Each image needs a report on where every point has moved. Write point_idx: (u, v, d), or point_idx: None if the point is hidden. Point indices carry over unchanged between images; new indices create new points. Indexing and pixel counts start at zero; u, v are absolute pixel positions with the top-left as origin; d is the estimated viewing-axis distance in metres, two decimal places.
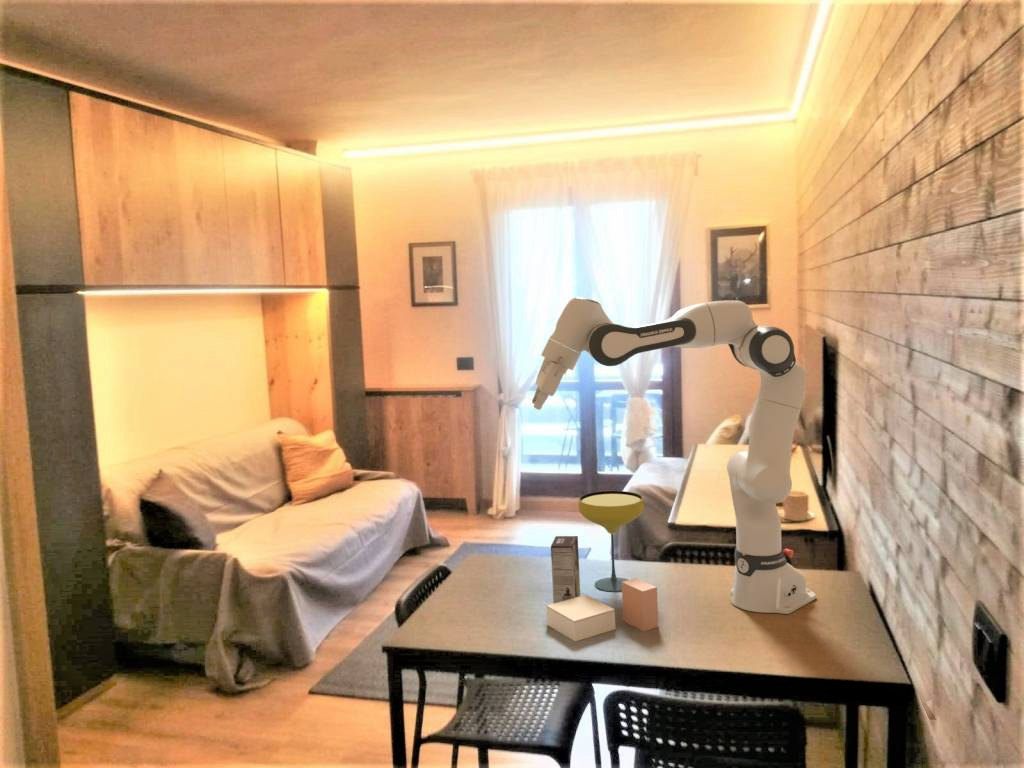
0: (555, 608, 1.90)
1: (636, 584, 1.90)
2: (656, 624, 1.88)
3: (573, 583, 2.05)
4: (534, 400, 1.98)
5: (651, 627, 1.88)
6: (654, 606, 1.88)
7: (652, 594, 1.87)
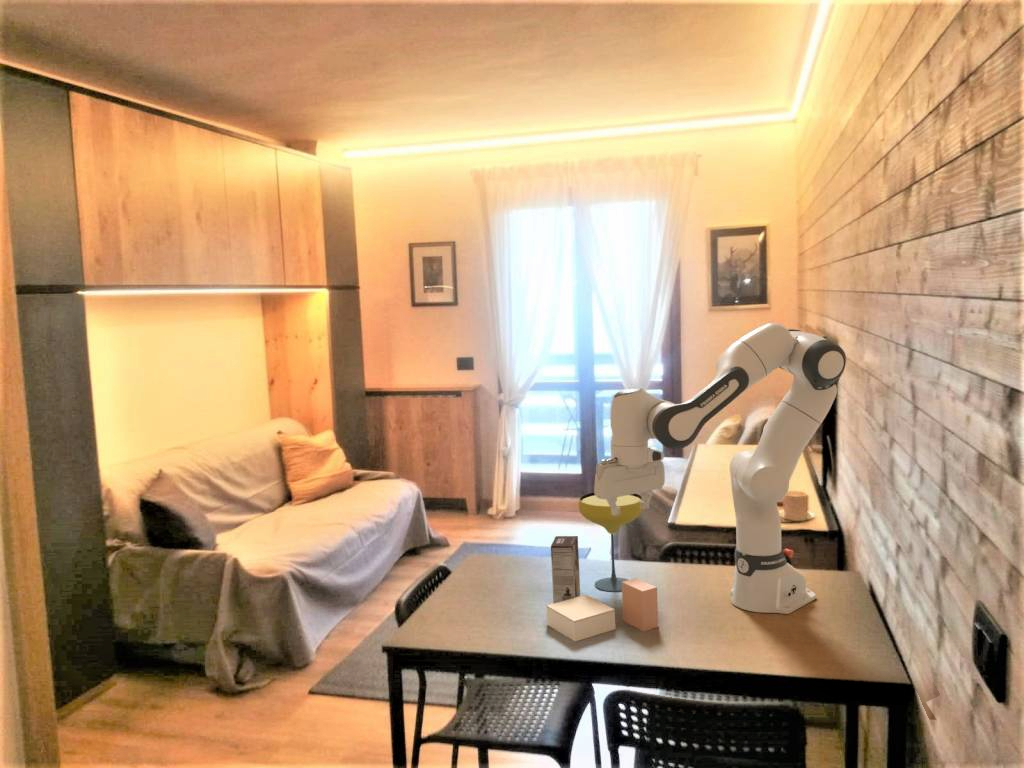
0: (555, 608, 1.90)
1: (636, 584, 1.90)
2: (656, 624, 1.88)
3: (573, 583, 2.05)
4: (641, 505, 1.91)
5: (651, 627, 1.88)
6: (654, 606, 1.88)
7: (652, 594, 1.87)
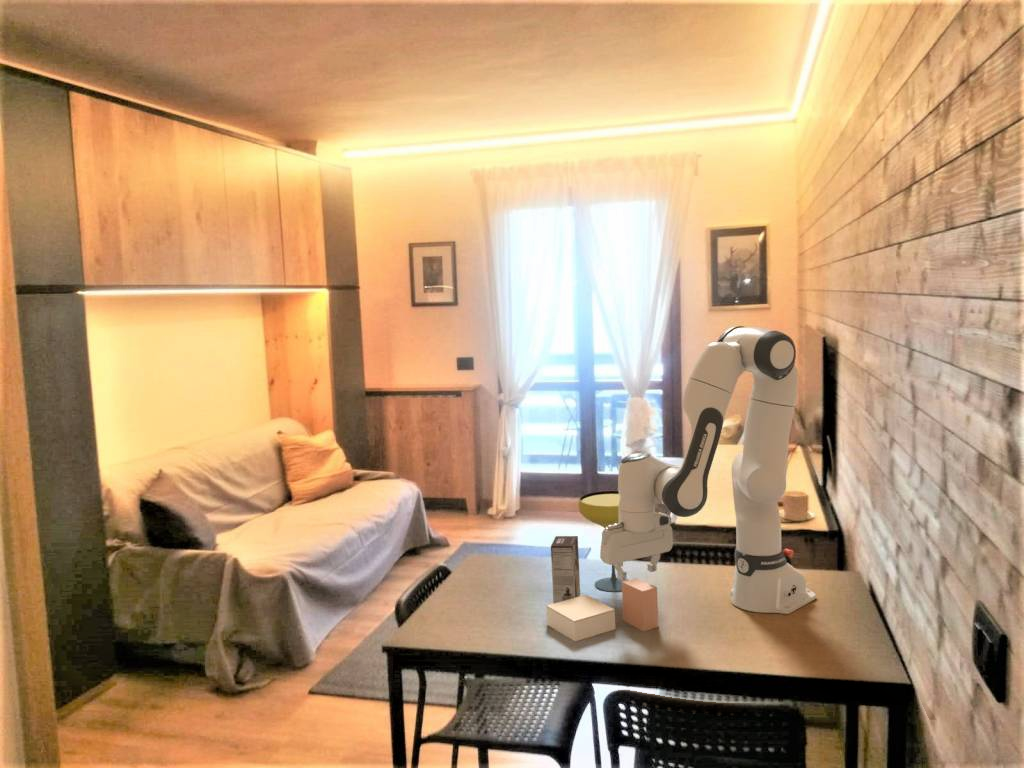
0: (555, 608, 1.90)
1: (636, 584, 1.90)
2: (656, 624, 1.88)
3: (573, 583, 2.05)
4: (648, 567, 1.92)
5: (651, 627, 1.88)
6: (654, 606, 1.88)
7: (652, 594, 1.87)
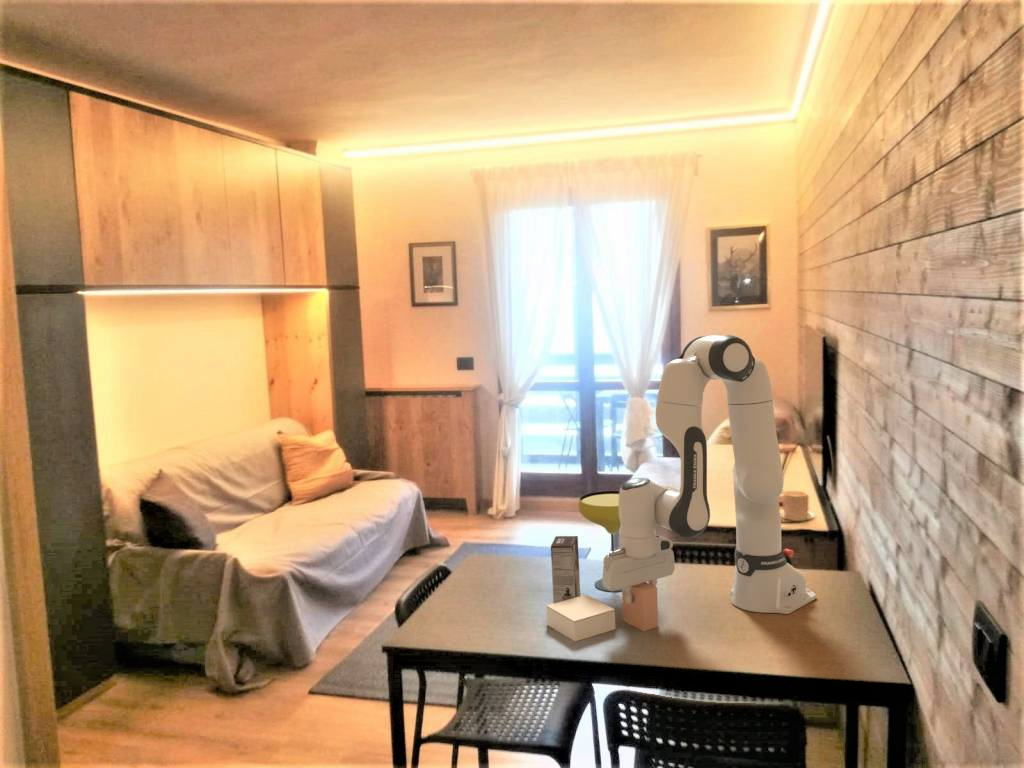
0: (555, 608, 1.90)
1: None
2: (656, 624, 1.88)
3: (573, 583, 2.05)
4: None
5: (651, 627, 1.88)
6: (654, 606, 1.88)
7: (652, 594, 1.87)
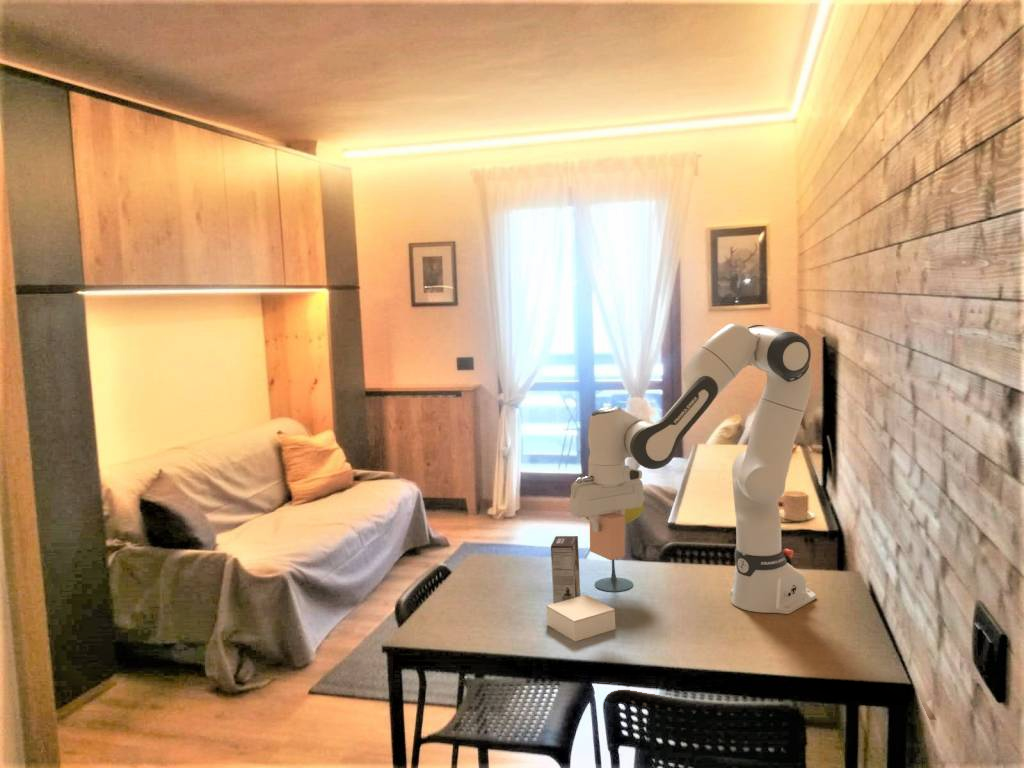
0: (555, 608, 1.90)
1: (604, 513, 1.88)
2: (623, 554, 1.86)
3: (573, 583, 2.05)
4: None
5: (617, 556, 1.85)
6: (621, 535, 1.85)
7: (619, 523, 1.85)
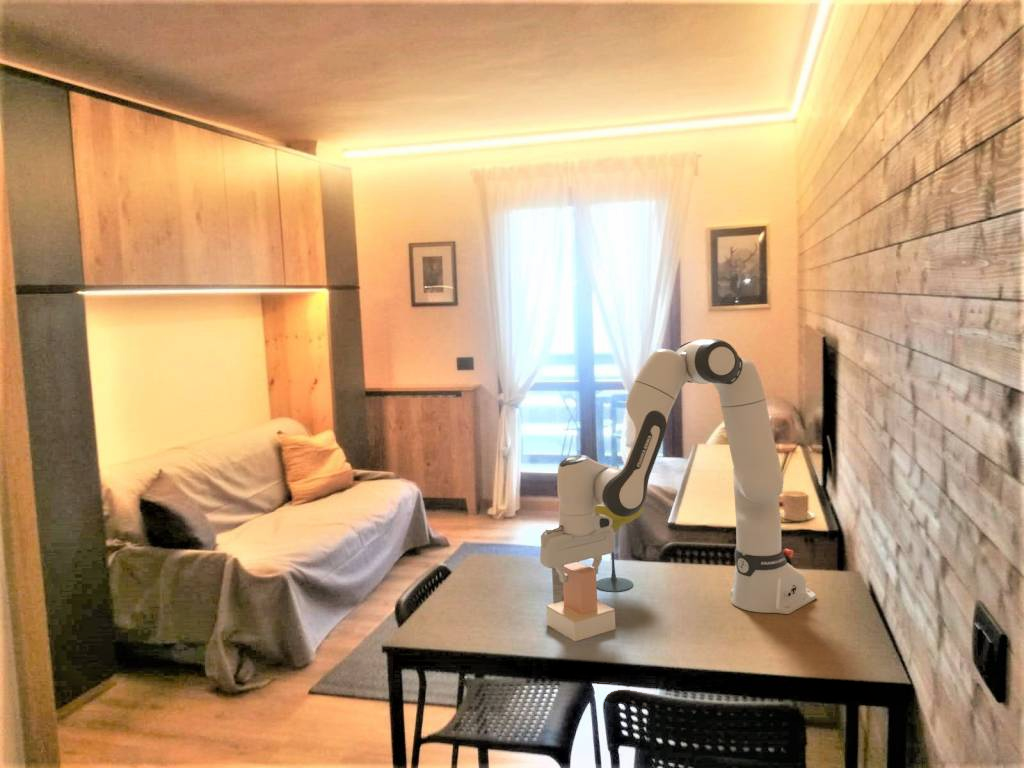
0: (555, 608, 1.90)
1: (576, 567, 1.89)
2: (595, 607, 1.87)
3: None
4: None
5: (590, 610, 1.87)
6: (593, 589, 1.87)
7: (590, 577, 1.86)
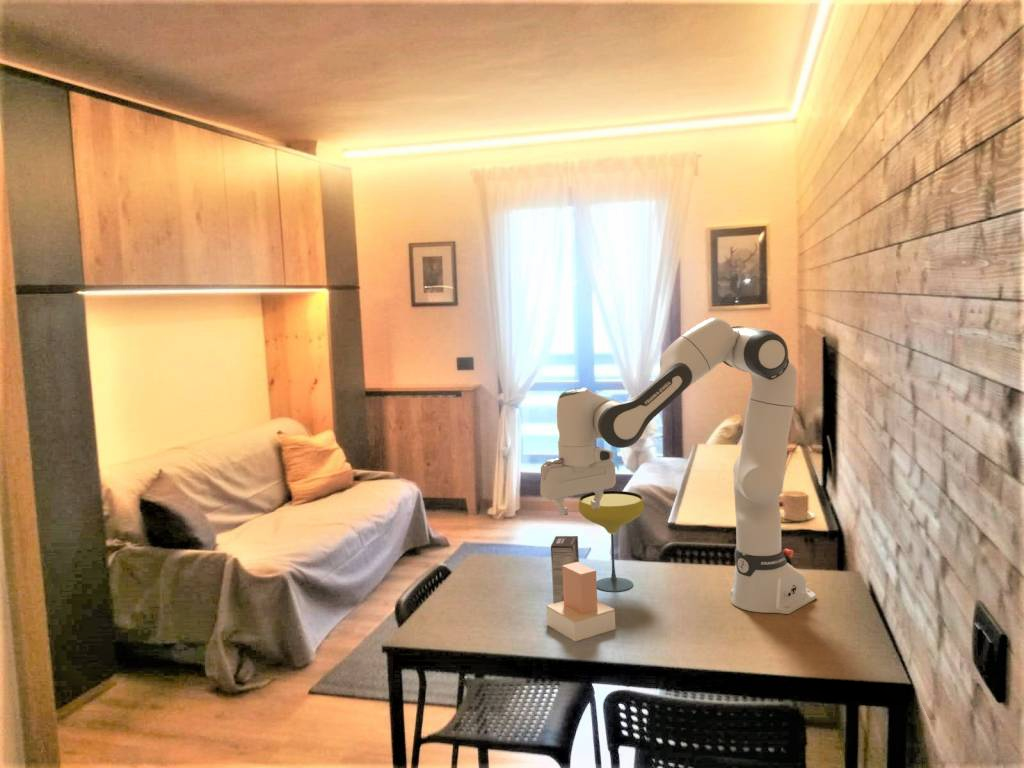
0: (555, 608, 1.90)
1: (576, 567, 1.89)
2: (595, 607, 1.87)
3: None
4: (592, 504, 1.90)
5: (590, 610, 1.87)
6: (593, 589, 1.87)
7: (590, 577, 1.86)
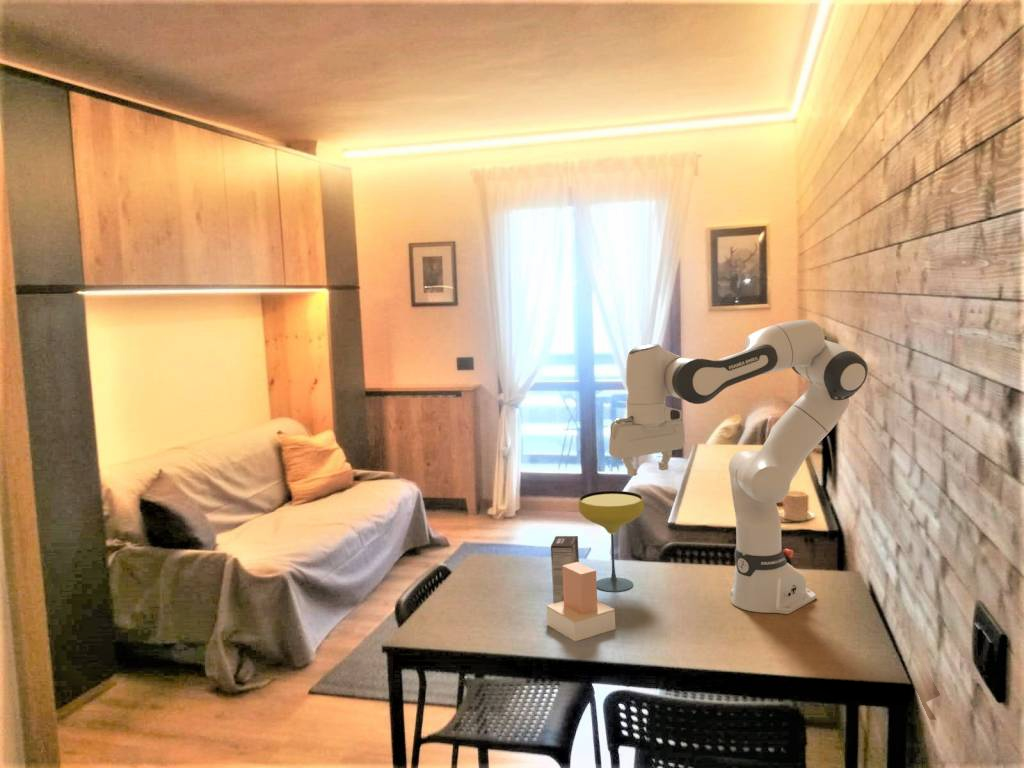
0: (555, 608, 1.90)
1: (576, 567, 1.89)
2: (595, 607, 1.87)
3: None
4: (659, 466, 1.84)
5: (590, 610, 1.87)
6: (593, 589, 1.87)
7: (590, 577, 1.86)
